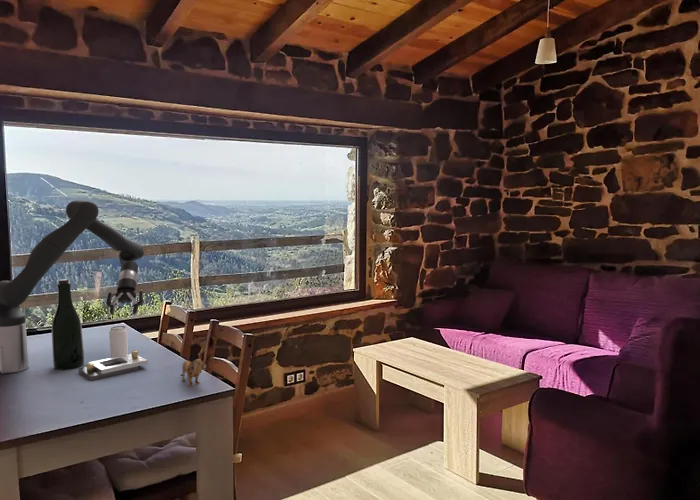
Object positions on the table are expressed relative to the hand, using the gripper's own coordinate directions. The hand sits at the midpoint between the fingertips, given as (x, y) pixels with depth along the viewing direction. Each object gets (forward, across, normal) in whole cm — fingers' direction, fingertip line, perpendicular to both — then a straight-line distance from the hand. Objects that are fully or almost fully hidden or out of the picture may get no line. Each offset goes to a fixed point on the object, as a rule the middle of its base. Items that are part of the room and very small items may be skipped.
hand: (123, 313), depth 227 cm
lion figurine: (+46, +31, -24) cm, 61 cm away
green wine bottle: (+24, -16, -2) cm, 29 cm away
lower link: (+32, 0, -10) cm, 34 cm away
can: (+19, 0, +3) cm, 19 cm away
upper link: (+30, +3, -10) cm, 31 cm away
